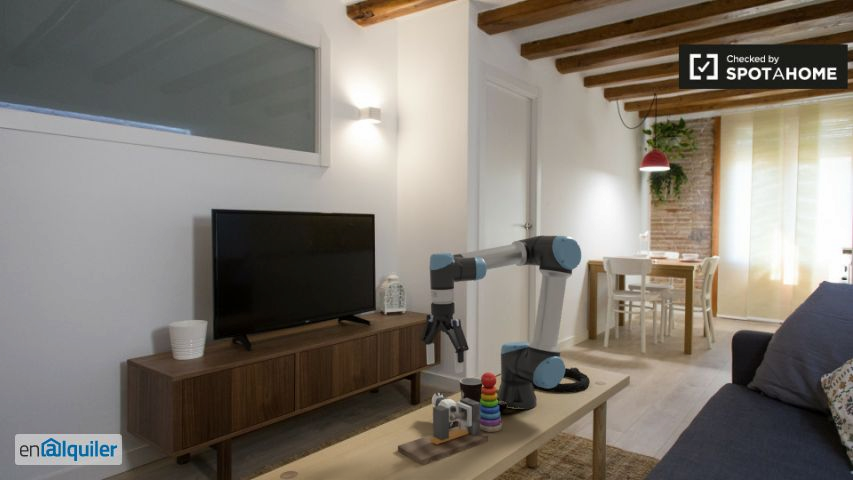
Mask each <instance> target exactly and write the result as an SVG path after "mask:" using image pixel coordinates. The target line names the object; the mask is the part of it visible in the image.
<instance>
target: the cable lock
mask: <svg viewBox="0 0 853 480" xmlns="http://www.w3.org/2000/svg"><path fill="white" fill-rule="evenodd" d="M564 377H567V378H573V379H575V380H579V381H575V382H566V383H561V382H560V383H558V384H557V386H555V387H553V388H543V387H538V386H536V385H535V384H532V386H533V389H537V390H542V391H546V392H552V393H553V392H556V393H573V392H579V391H583V390H585V389H586V388H587V387H589V386H590V378H589V376H588V375H587V374H585V373H583V372H581V371H580V370H579V369H578V368H577V367H570V368H567V367H565V374H564Z"/></svg>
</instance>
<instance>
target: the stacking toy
mask: <svg viewBox="0 0 853 480" xmlns="http://www.w3.org/2000/svg"><path fill="white" fill-rule="evenodd" d="M480 379H481V382H482V389H481V391H482V392H481V400H480V431H484V432H486V433H494V432H495V433H496V432H499V431H500V430H502V429H503V428H502V427H503V423H502V418H501V411H500V405H498V400H497V397H498V396H497V394H498V393H497V392H498V391H497V387H496V384H497V377H496V375H495V374H494V373H492V372H489V371H487V372H484V373H483V374H482V375H481V378H480Z"/></svg>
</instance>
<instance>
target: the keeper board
mask: <svg viewBox="0 0 853 480" xmlns="http://www.w3.org/2000/svg"><path fill="white" fill-rule="evenodd" d="M459 402H461V403H464V404H466V405H469V406H471V407H472V426H468V433H469V434H466V435H463V436H460V437H457V438H454V439H451V440H448V441H445V442H443V443H440V444H437V445H436V444H434V443H433V442H431V441H430V438H432V437H434V436H433V434H431V435H427V436H424V437H421V438H418V439H415V440H412V441H408V442H405V443H401V444H398V445H397V451H398V452H399V453H401V454H403V455H404V456H406V457H408V458H409V459H411V460H412V461H414V462H415V463H417V464H419V465H421V466H424V465H427V464H429V463H432V462H434V461H437V460H439V459H444V458H445V457H449V456H451V455H454V454H456V453H460V452H462V451H465V450H467V449H468V450H469V449H471V448H473V447H476V446H479V445H481V444H484V443H486V442H488V441H489V438H488V436H487V435H485V434H483V433H481V429H480V405H481V403H479V402H477V401H474V400H471V399H469V398H465V399H460V401H459ZM458 418H463V419H465V420H467V410H466V409H464V408H461V412H459V413H456V414H452V415H450V416H449V419H450V420H452V421H453V420H455V419H458ZM459 423H460V422H459ZM459 428H461V423H460V424H459V425H458V426H457V427H450V429H449V432H450V431H453V430H456V429H459Z"/></svg>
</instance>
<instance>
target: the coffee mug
mask: <svg viewBox="0 0 853 480" xmlns="http://www.w3.org/2000/svg"><path fill="white" fill-rule="evenodd" d="M482 387H483V384H482V382H481V378H478V377H463V378H461V379H459V388H460V396H461V399H465V398H469V399H471V400H474V401H477V402H479V403H480V400H481V399H482V398H481V394H482V391H481V389H482ZM461 399H460V400H461ZM480 404H481V403H480Z"/></svg>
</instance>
